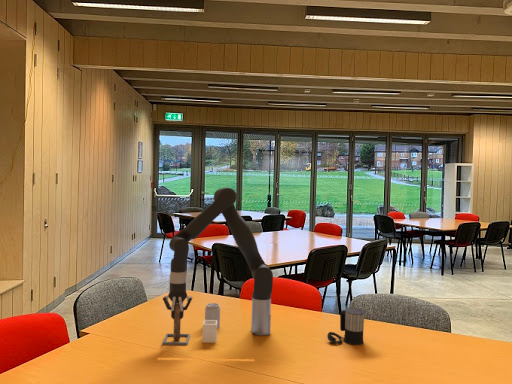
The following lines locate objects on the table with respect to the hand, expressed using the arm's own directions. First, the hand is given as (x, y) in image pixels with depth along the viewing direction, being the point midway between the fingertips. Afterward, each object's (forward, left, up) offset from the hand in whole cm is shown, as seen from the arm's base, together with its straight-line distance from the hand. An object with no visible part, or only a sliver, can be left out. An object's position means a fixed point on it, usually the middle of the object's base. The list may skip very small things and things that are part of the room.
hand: (177, 318), depth 201 cm
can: (-15, -19, -11) cm, 27 cm away
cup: (-15, -1, -11) cm, 19 cm away
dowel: (0, 0, -9) cm, 9 cm away
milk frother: (-79, -4, -11) cm, 79 cm away
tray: (0, 0, -11) cm, 11 cm away
